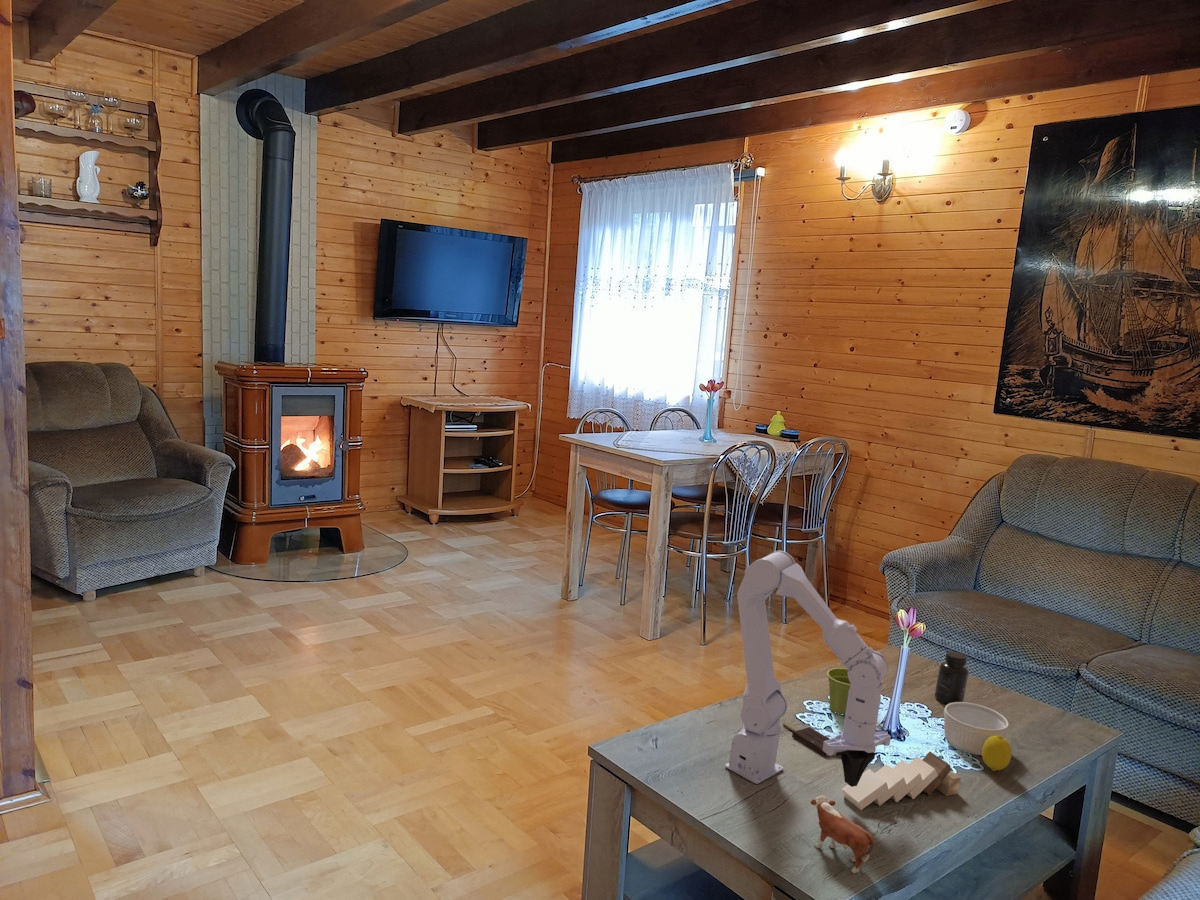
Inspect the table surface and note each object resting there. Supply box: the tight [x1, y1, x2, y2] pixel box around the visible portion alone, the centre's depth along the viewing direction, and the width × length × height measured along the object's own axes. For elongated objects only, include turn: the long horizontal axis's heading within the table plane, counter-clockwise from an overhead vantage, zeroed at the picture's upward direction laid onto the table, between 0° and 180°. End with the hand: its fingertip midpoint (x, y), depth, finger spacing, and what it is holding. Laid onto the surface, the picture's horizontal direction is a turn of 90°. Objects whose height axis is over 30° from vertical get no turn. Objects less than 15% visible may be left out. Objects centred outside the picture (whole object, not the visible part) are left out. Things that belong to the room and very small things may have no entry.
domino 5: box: [922, 751, 952, 796], centre depth 173 cm, size 2×5×7 cm
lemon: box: [981, 735, 1012, 772], centre depth 182 cm, size 6×6×8 cm
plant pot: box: [826, 667, 851, 715], centre depth 203 cm, size 9×9×9 cm
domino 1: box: [841, 768, 889, 811], centre depth 166 cm, size 2×5×7 cm
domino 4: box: [906, 756, 938, 800], centre depth 171 cm, size 2×5×7 cm
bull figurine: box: [810, 795, 875, 874], centre depth 148 cm, size 4×13×8 cm, turn 32°
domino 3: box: [889, 759, 923, 803], centre depth 170 cm, size 2×5×7 cm
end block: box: [935, 770, 962, 797], centre depth 174 cm, size 3×7×4 cm, turn 25°
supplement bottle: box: [934, 651, 970, 705], centre depth 214 cm, size 7×7×12 cm
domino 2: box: [873, 764, 907, 807], centre depth 168 cm, size 2×5×7 cm
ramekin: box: [943, 701, 1009, 757], centre depth 193 cm, size 13×13×7 cm
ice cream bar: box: [782, 720, 840, 758], centre depth 188 cm, size 5×2×15 cm
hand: (850, 783), depth 164 cm, fingers closed
